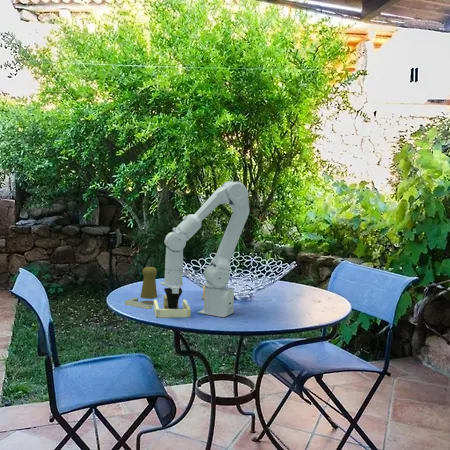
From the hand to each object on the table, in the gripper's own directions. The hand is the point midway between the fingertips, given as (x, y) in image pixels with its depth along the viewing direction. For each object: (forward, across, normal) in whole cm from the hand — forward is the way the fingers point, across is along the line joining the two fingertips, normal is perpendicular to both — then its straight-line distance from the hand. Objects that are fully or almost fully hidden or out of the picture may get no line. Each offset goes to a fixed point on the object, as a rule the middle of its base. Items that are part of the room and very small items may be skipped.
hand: (172, 310), depth 162 cm
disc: (+1, -14, -7) cm, 16 cm away
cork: (+1, -24, -6) cm, 25 cm away
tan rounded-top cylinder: (+1, -20, +16) cm, 25 cm away
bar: (+1, -11, -9) cm, 15 cm away
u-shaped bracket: (+1, -3, 0) cm, 3 cm away
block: (+1, -5, 0) cm, 6 cm away
